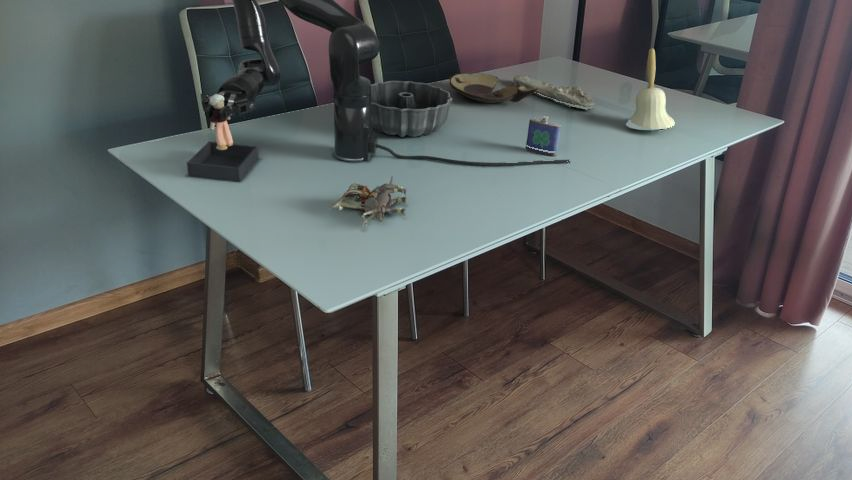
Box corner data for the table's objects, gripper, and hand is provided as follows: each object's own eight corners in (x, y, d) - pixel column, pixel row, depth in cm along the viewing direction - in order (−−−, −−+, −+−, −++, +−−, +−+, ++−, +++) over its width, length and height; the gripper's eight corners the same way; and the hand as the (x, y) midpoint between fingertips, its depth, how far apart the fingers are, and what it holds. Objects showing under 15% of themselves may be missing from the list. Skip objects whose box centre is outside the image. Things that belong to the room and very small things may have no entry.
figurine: (405, 211, 162) (325, 208, 160) (404, 235, 166) (326, 232, 164) (407, 169, 179) (334, 165, 177) (406, 191, 182) (335, 188, 180)
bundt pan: (340, 130, 214) (340, 95, 208) (386, 106, 235) (387, 74, 230) (424, 151, 206) (425, 116, 201) (464, 124, 228) (466, 92, 223)
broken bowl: (482, 83, 265) (484, 61, 261) (544, 109, 248) (547, 86, 244) (433, 92, 251) (434, 69, 247) (494, 120, 234) (497, 96, 230)
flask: (557, 154, 214) (562, 118, 209) (554, 157, 212) (559, 121, 207) (527, 147, 217) (531, 111, 211) (523, 150, 215) (528, 114, 209)
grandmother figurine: (227, 152, 179) (218, 99, 172) (211, 151, 179) (201, 98, 172) (239, 140, 185) (230, 89, 179) (223, 139, 185) (214, 88, 179)
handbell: (665, 137, 232) (667, 53, 221) (618, 133, 239) (618, 52, 228) (680, 125, 244) (684, 44, 233) (636, 121, 251) (637, 43, 240)
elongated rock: (524, 84, 273) (505, 90, 267) (525, 70, 271) (505, 75, 264) (602, 108, 253) (583, 114, 247) (603, 92, 250) (584, 98, 244)
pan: (258, 159, 191) (257, 146, 189) (239, 181, 179) (238, 168, 177) (210, 154, 191) (208, 141, 189) (188, 176, 179) (186, 162, 177)
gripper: (209, 73, 187) (182, 95, 173) (266, 80, 188) (243, 102, 173) (212, 102, 191) (185, 126, 177) (267, 109, 192) (245, 133, 177)
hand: (214, 114), depth 175 cm, fingers closed on grandmother figurine, 2 cm apart
